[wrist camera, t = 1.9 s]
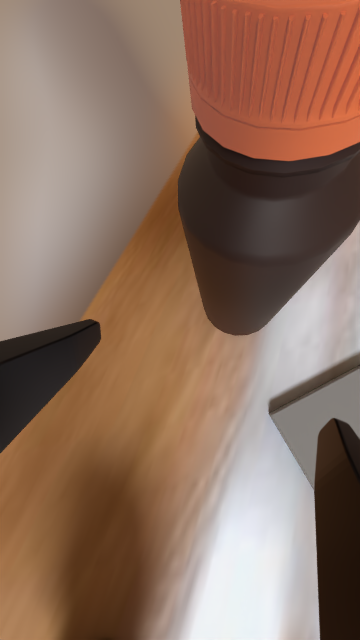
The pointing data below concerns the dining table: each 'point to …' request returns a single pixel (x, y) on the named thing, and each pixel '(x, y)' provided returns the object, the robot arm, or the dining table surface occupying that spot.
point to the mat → (318, 417)
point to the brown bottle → (269, 149)
